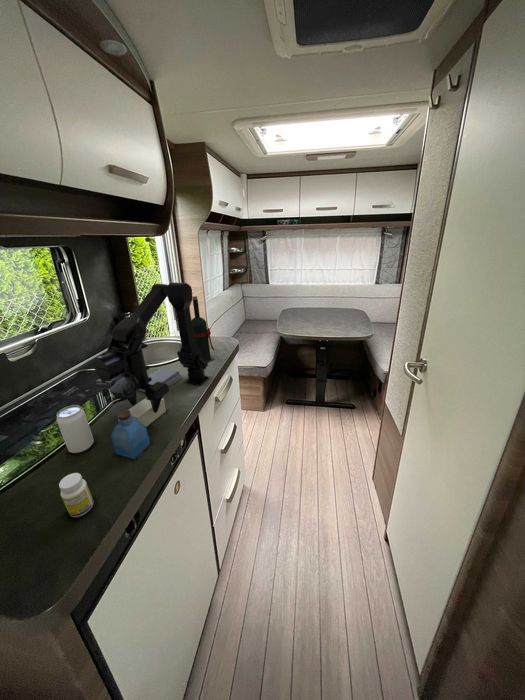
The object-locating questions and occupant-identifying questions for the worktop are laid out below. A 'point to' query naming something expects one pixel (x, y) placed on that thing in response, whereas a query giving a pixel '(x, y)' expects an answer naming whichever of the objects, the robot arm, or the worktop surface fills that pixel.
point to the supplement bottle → (76, 495)
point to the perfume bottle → (129, 436)
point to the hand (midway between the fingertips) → (145, 409)
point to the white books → (154, 416)
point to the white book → (143, 409)
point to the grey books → (164, 377)
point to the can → (75, 429)
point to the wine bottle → (201, 332)
